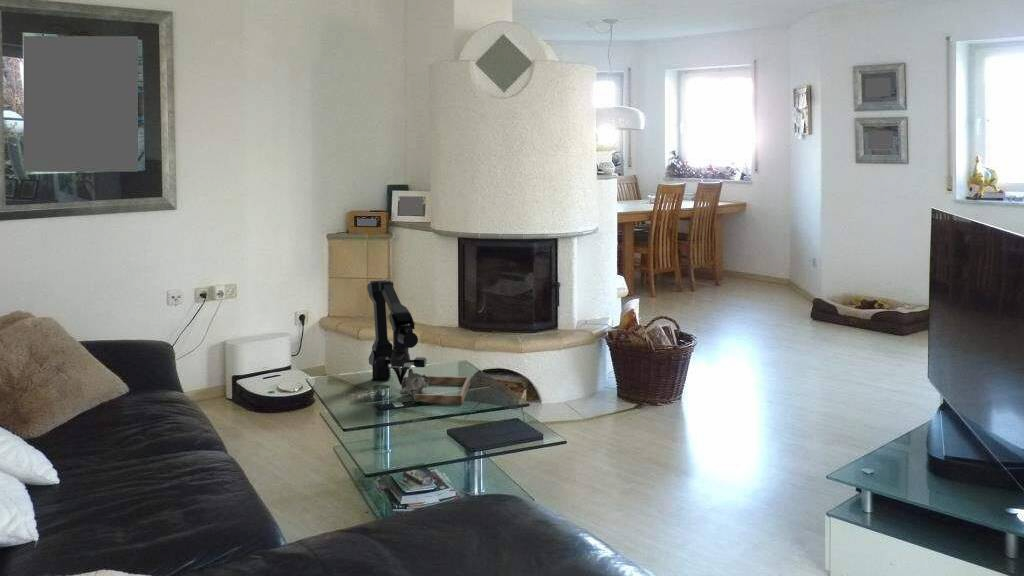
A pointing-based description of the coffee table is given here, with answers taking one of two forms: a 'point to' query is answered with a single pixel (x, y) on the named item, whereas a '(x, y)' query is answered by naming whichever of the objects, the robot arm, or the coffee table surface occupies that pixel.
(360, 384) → the coffee table surface
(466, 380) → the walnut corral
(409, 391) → the decorative stone
